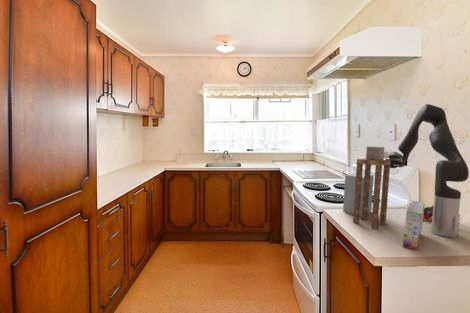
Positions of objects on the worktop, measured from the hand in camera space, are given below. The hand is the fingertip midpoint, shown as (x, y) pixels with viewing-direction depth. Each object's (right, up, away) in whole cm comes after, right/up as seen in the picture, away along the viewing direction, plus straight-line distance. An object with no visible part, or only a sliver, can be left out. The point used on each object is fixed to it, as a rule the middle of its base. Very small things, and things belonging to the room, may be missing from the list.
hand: (390, 162), depth 140 cm
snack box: (-4, -33, -24) cm, 41 cm away
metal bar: (-8, +2, -4) cm, 9 cm away
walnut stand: (-13, -30, -5) cm, 33 cm away
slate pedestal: (-10, -28, +14) cm, 33 cm away
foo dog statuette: (+21, -30, +2) cm, 37 cm away
